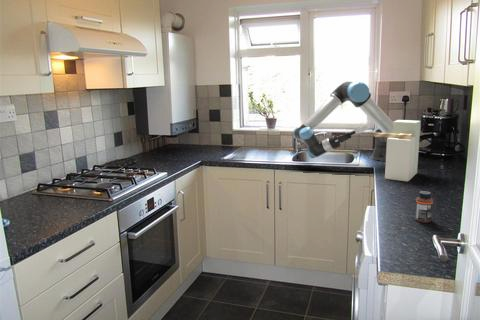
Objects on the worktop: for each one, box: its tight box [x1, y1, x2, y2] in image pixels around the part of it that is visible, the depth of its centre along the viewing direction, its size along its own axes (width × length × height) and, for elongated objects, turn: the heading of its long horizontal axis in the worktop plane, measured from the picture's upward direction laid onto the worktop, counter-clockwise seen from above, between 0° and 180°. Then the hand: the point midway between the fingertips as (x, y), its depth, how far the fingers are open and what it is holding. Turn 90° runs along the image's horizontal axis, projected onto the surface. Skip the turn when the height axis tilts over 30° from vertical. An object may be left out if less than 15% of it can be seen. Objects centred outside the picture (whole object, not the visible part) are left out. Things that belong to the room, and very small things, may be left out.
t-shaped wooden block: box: [373, 132, 413, 139], centre depth 222 cm, size 19×6×2 cm, turn 56°
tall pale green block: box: [384, 119, 421, 182], centre depth 226 cm, size 12×22×30 cm, turn 146°
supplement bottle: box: [414, 190, 434, 224], centre depth 157 cm, size 6×6×11 cm
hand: (364, 128), depth 231 cm, fingers open, 13 cm apart
